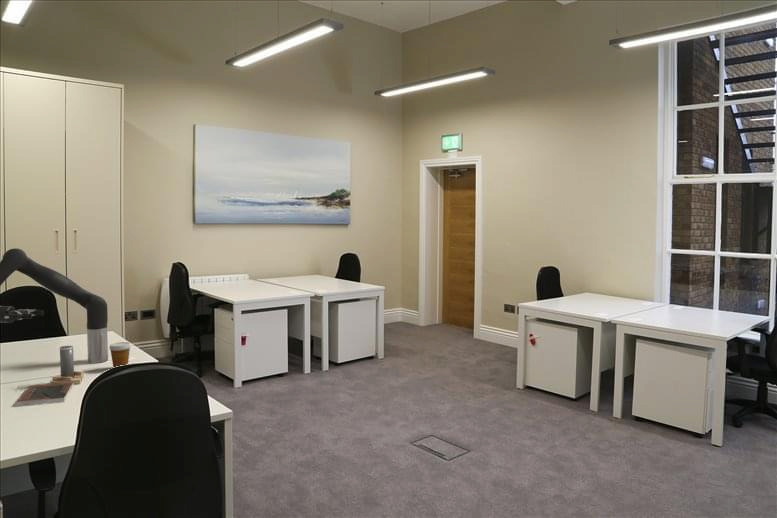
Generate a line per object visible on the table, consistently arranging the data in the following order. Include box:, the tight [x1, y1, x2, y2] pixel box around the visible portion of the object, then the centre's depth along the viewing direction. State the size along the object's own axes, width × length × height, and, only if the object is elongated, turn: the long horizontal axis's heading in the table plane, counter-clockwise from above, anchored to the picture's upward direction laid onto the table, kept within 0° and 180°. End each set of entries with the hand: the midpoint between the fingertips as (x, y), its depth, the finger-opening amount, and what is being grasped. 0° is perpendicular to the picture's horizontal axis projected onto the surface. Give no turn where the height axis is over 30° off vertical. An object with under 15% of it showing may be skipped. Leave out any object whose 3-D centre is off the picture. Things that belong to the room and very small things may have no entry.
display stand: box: [50, 370, 84, 386], centre depth 248 cm, size 12×11×4 cm
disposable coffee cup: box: [108, 341, 132, 367], centre depth 271 cm, size 10×10×12 cm
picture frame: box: [16, 382, 74, 407], centre depth 230 cm, size 16×2×22 cm
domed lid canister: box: [59, 345, 75, 378], centre depth 248 cm, size 5×5×14 cm
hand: (37, 314), depth 249 cm, fingers open, 8 cm apart
